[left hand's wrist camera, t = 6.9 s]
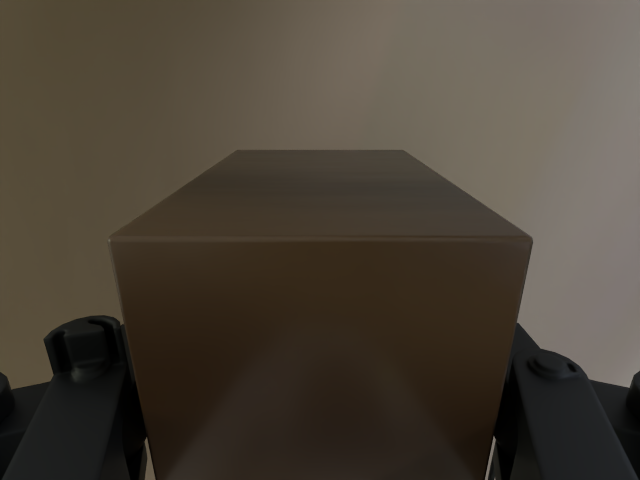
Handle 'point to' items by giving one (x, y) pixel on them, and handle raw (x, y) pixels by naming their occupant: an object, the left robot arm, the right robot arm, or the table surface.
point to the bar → (320, 319)
